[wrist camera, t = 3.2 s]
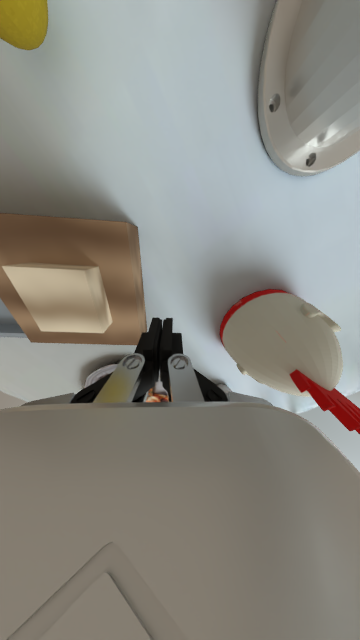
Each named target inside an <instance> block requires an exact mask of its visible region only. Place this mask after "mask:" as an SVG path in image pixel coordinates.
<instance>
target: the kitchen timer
mask: <svg viewBox="0 0 360 640" xmlns="http://www.w3.org/2000/svg"><path fill="white" fill-rule="evenodd" d="M338 331H341V328H340V327H339V326H338V325H337V324H336V323H335V322H334V321H333V320H331V319H330V318H329V317H328V316H326V315H325V314H324V313H322V312H321V311H320V310H318V309H317V308H315V307H314V306H313V305H311V304H309V303H307V302H306V301H304V300H303V299H301V298H299V297H297V296H295V295H292V294H290V293H287V292H285V291H283V290H274V289H268V290H263V291H258V292H255V293H253V294H250V295H248V296H246V297H244V298H242V299H241V300H240V301H239V302H237V303H236V304H235V305H233V306H232V307H231V309H230V310H229V311H228V312H227V314H226V315H225V316H224V319H223V321H222V323H221V326H220V337H221V341H222V343H223V346H224V348H225V349H226V351H227V352H228V353H229V355H230V356H231V357H232V358H233V360H234V361H235V362H236V363H237V367H238V369H239V370H240V372H241V373H242V374H243V375H245V374H247V375H249V376H251V377H252V378H254V379H255V380H256V381H258V382H259V383H262V384H265V385H267V386H269V387H271V388H273V389H276V390H278V391H281V392H284V393H288V394H292V395H297V396H304V397H312V398H313V399H314V400H315V401H316V403H317V404H318V405H319V406H320V408H321V409H322V410H323V411H326V410H329V411H330V412H332V414H333V415H334V416H335V417H336V418H337V419H338V420H339V421H340V422H341V423H342V424H343V425H344V426H345V427H346V428H347V429H348V430H349V431H353V430H356V431H357V432H358V433H359V434H360V409H359V408H358V407H357V406H356V405H355V404H353V403H352V402H351V401H350V400H348V399H347V398H346V397H345V396H343V395H342V394H341V393H340V392H339V391H337V390H336V389H335V388H334V387H335V386H336V385H337V384H338V382H339V380H340V377H341V374H342V370H343V360H342V353H341V348H340V345H339V342H338V340H337V338H336V336H335V334H334V332H338Z"/></svg>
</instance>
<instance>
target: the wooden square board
mask: <svg viewBox="0 0 360 640" xmlns="http://www.w3.org/2000/svg"><path fill="white" fill-rule="evenodd" d="M23 263H46V264H64V265H82V266H99V269H100V273H101V277H102V281H103V285H104V289H105V293H106V297H107V301H108V305H109V309H110V313H111V317H112V321H113V322H112V324H111V325H110V326H109V327H108V328H107V330H106V331H105V332H104V333H81V332H49V331H41V330H40V328H39V327H38V325H37V323H36V322H35V320H34V319H33V317H32V315H31V314H30V312H29V310H28V309H27V307H26V305H25V304H24V302H23V300H22V299H21V297H20V296H19V294H18V292H17V291H16V289H15V287H14V286H13V284H12V282H11V281H10V279H9V278H8V276H7V274H6V273H5V271H4V269H3V268H2V266H6V265H14V264H23ZM0 298H1V300H2V301H3V303H4V304H5V306H6V307H7V309H8V310H9V311H10V313H11V314H12V316H13V317H14V319H15V320H16V321H17V323H18V324H19V326H20V327H21V329H22V330H23V332H24V333H25V334H26V336H27V337H28V339H29V340H30V342H38V343H74V344H110V345H138V342H139V339H140V337H141V334H142V333H143V332H147V324H146V313H145V302H144V291H143V280H142V269H141V258H140V247H139V237H138V227H136V226H134V225H132V224H129V223H127V222H118V221H104V220H90V219H76V218H62V217H49V216H35V215H21V214H7V213H0Z"/></svg>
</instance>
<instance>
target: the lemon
mask: <svg viewBox="0 0 360 640" xmlns="http://www.w3.org/2000/svg"><path fill="white" fill-rule="evenodd" d="M47 26H48V7H47V0H0V38H1V39H3V40H4V41H6V42H8V43H9V44H11V45H13V46H15V47H17V48H20V49H25V50H32V49H35V48H38V47H39V46H40V45H41V44H42V43H43V41H44V38H45V36H46V33H47Z"/></svg>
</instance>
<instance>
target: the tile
mask: <svg viewBox="0 0 360 640" xmlns="http://www.w3.org/2000/svg"><path fill="white" fill-rule="evenodd" d="M2 268H3V269H4V271H5V273H6V274H7V276H8V278H9V279H10V281H11V282H12V284H13V286H14V287H15V289H16V291H17V292H18V294H19V296H20V297H21V299H22V300H23V302H24V304H25V305H26V307H27V309H28V310H29V312H30V314H31V315H32V317H33V319H34V320H35V322H36V323H37V325H38V327H39V328H40V330H41V331H49V332H81V333H104V332H105V331H106V330H107V328H108V327H109V326H110V325H111V324H112V322H113V321H112V317H111V313H110V309H109V305H108V301H107V297H106V293H105V289H104V285H103V281H102V277H101V273H100V269H99V266H82V265H64V264H46V263H23V264H14V265H6V266H2Z"/></svg>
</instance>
